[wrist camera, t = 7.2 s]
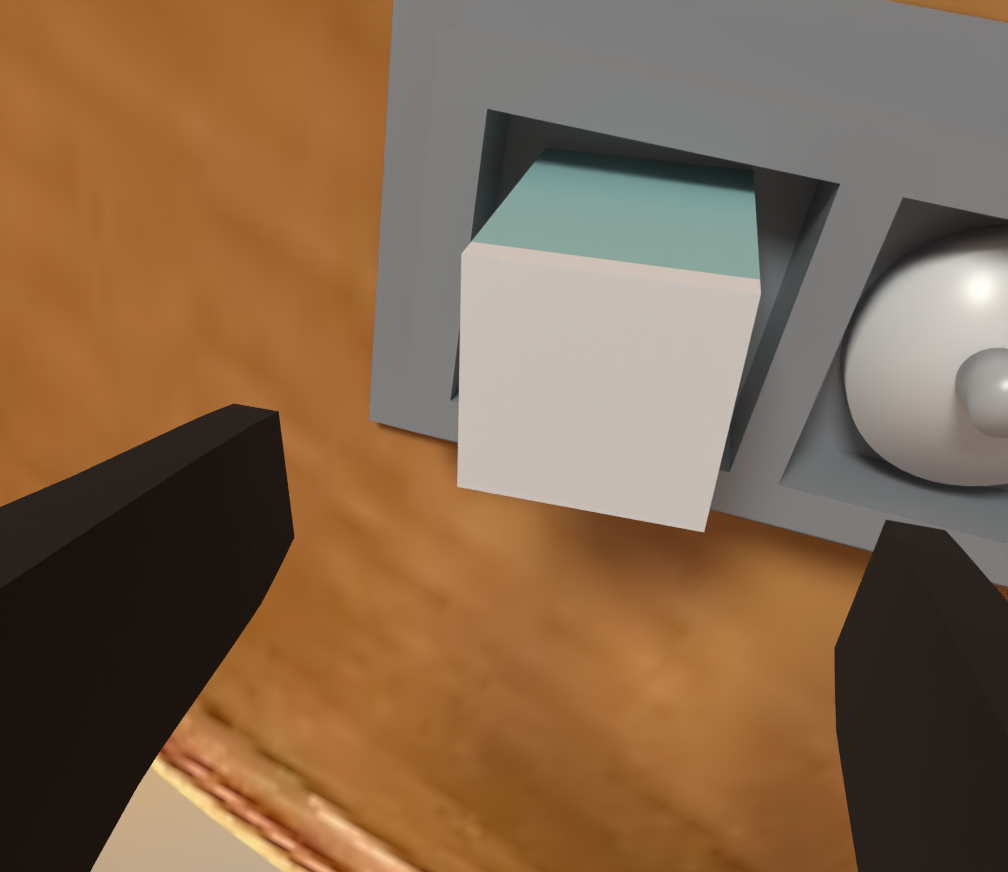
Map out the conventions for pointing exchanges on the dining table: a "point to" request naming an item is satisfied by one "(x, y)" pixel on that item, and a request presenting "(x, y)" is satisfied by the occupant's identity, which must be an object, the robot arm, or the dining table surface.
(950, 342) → the housing
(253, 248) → the dining table surface
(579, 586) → the dining table surface
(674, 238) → the teal and white block
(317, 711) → the dining table surface
